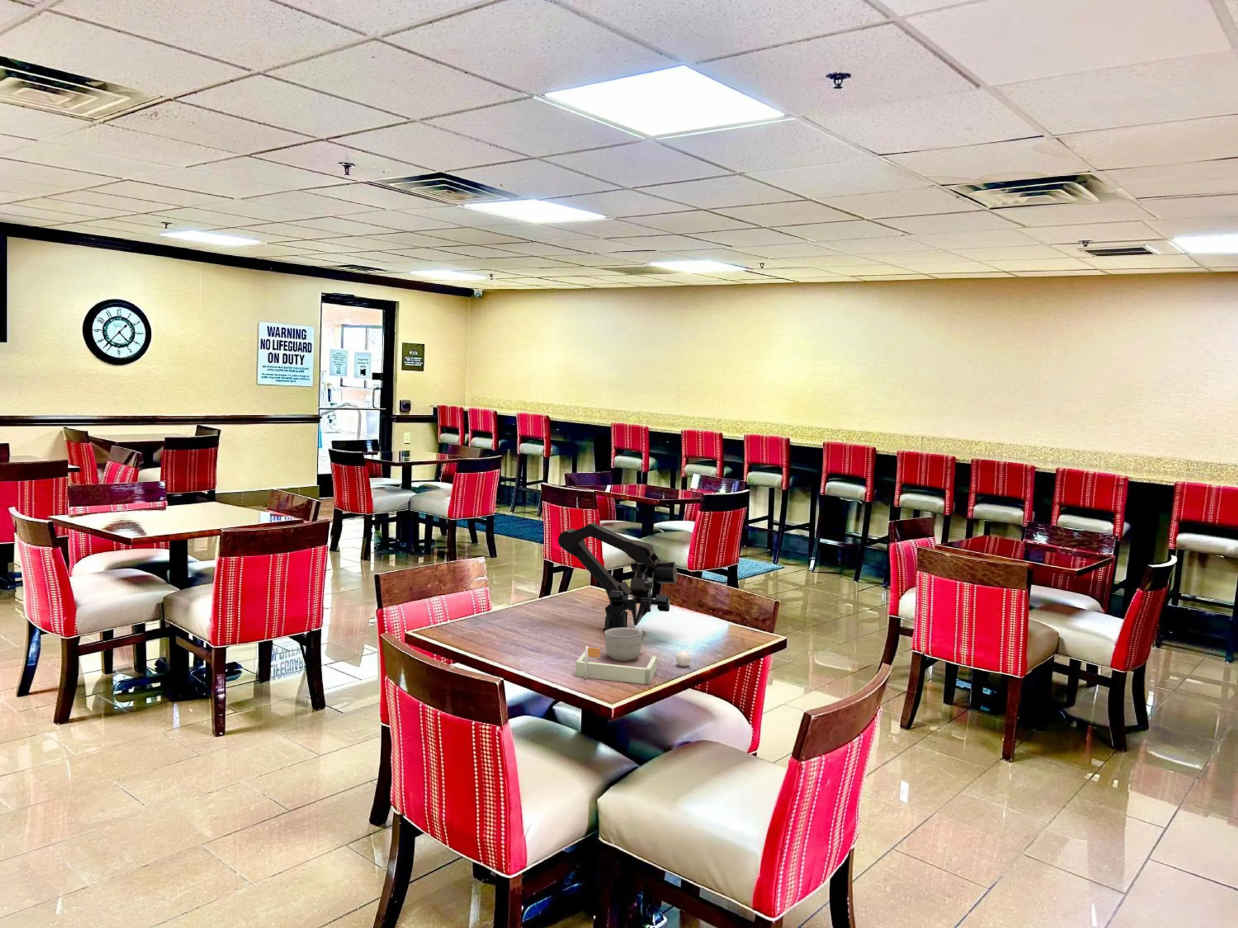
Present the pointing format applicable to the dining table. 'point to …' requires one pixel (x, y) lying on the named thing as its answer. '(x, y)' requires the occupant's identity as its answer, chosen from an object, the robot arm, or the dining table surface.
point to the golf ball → (683, 658)
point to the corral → (613, 669)
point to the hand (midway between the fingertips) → (635, 624)
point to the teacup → (624, 642)
